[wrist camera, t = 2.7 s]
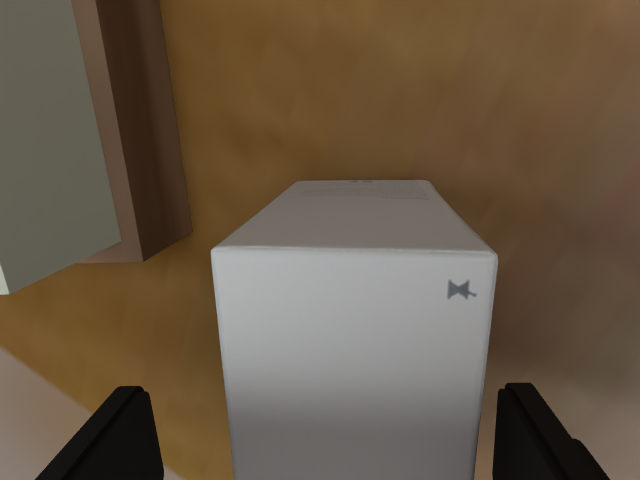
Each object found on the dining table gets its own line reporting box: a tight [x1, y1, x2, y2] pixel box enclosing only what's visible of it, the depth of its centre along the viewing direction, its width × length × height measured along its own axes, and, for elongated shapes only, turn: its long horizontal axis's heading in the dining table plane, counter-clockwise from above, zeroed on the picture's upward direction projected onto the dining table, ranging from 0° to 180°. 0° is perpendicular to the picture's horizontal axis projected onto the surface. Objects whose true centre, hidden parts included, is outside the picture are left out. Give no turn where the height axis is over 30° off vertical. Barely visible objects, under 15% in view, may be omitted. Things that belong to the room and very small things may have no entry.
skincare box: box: [211, 180, 498, 480], centre depth 15 cm, size 10×6×10 cm, turn 1°
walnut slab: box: [71, 0, 193, 264], centre depth 17 cm, size 12×12×5 cm
